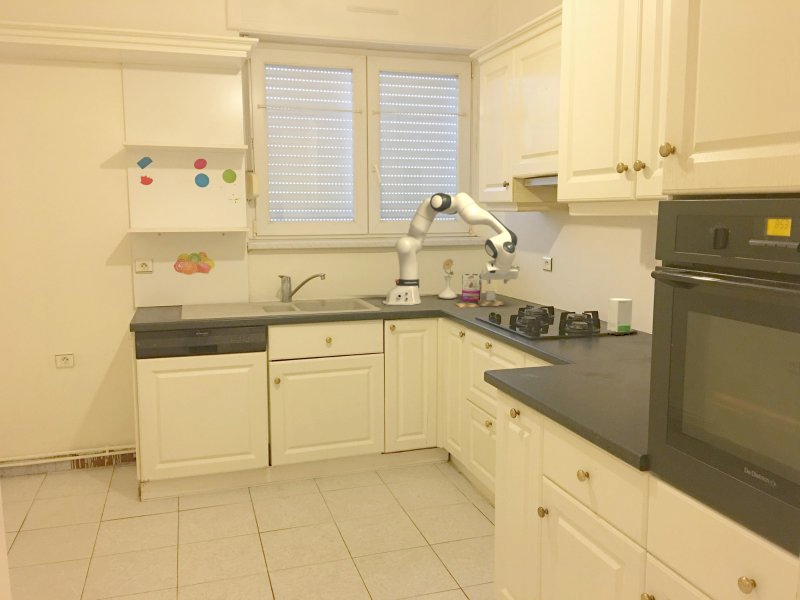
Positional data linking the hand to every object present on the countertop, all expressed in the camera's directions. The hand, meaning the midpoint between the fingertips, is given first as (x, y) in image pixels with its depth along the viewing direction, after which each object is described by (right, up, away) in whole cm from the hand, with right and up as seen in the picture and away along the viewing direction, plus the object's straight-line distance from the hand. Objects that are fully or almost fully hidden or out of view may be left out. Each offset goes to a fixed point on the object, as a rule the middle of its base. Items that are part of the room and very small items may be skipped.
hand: (496, 282), depth 369 cm
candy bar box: (-11, -10, +31) cm, 35 cm away
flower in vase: (-24, -9, +40) cm, 48 cm away
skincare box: (+42, -25, -79) cm, 93 cm away
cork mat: (-15, -13, +11) cm, 23 cm away
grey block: (-2, -12, +14) cm, 19 cm away
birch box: (-2, -12, +14) cm, 18 cm away
